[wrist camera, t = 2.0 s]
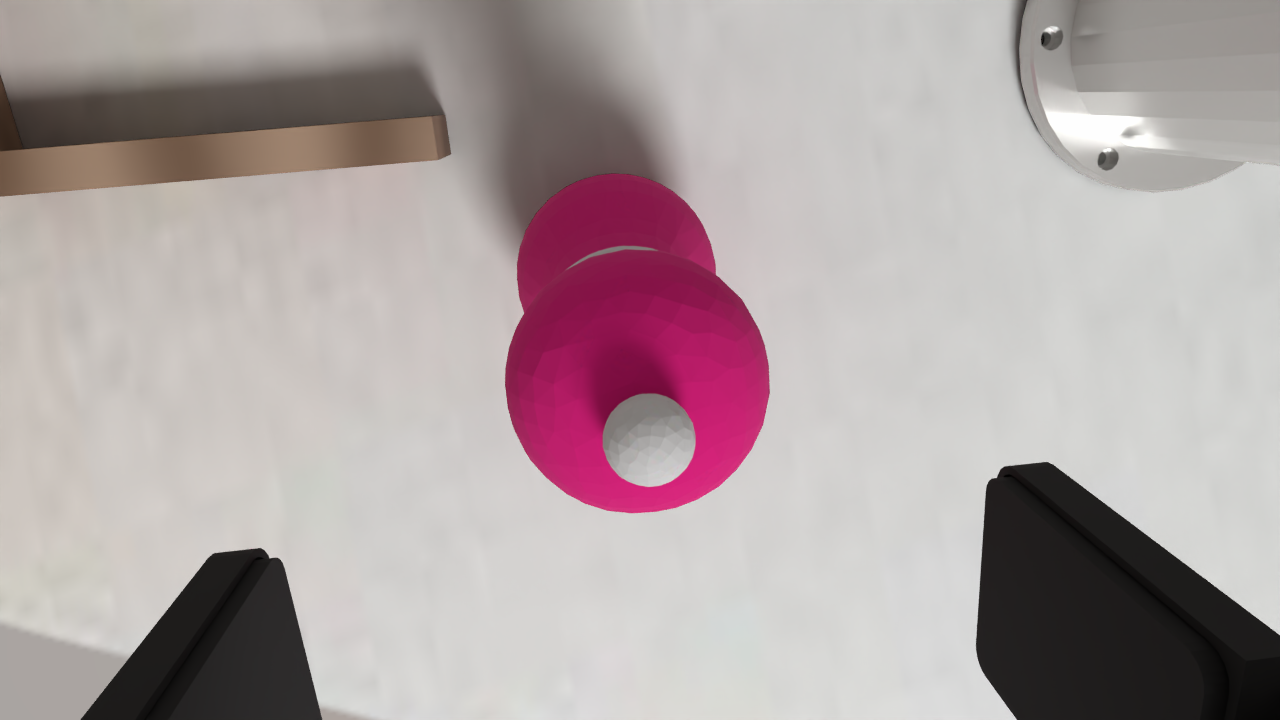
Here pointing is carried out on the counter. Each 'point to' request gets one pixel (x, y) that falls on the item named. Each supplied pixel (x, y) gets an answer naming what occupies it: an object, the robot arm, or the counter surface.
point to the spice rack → (214, 154)
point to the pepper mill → (631, 350)
